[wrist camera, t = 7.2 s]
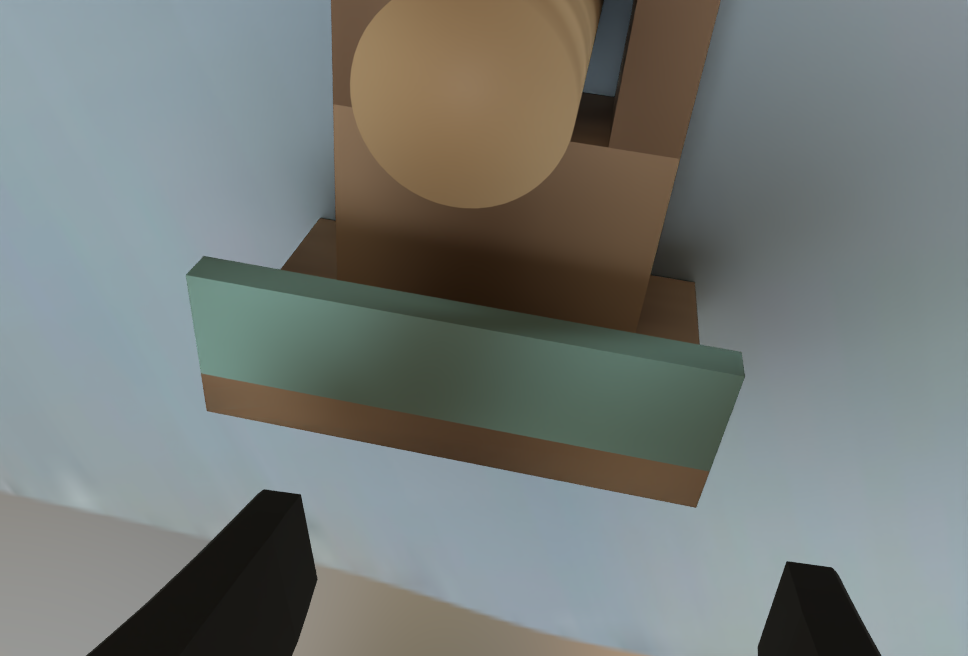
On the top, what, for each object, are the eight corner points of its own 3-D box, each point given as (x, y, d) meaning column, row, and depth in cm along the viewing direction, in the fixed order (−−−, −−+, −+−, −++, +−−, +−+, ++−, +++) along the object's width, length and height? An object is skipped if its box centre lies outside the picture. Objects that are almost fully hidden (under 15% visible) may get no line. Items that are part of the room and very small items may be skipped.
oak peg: (622, -90, 16) (598, 2, 9) (592, 60, 17) (554, 226, 11) (475, -114, 16) (351, -40, 9) (460, 37, 18) (348, 186, 11)
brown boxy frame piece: (832, -180, 14) (942, -155, 9) (685, 314, 21) (696, 507, 15) (304, -242, 15) (104, -255, 10) (320, 250, 22) (206, 410, 16)
